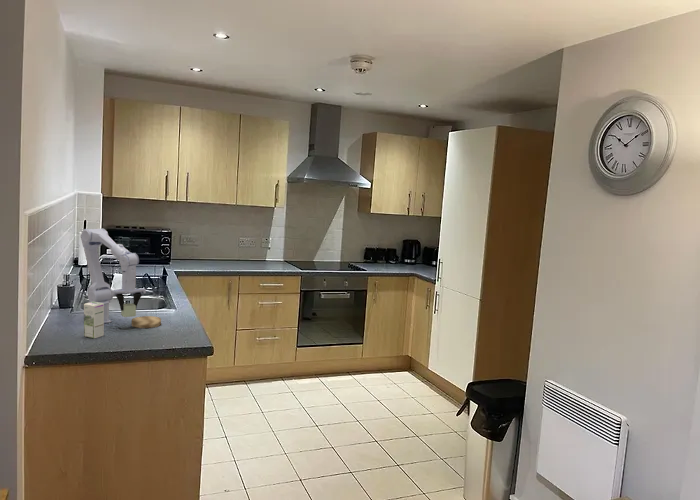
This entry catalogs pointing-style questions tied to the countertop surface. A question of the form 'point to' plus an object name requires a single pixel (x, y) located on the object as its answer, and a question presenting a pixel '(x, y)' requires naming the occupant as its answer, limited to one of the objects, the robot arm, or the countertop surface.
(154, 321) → the base
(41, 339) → the countertop surface
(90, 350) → the countertop surface
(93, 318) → the syrup box
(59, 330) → the countertop surface
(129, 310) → the cube
